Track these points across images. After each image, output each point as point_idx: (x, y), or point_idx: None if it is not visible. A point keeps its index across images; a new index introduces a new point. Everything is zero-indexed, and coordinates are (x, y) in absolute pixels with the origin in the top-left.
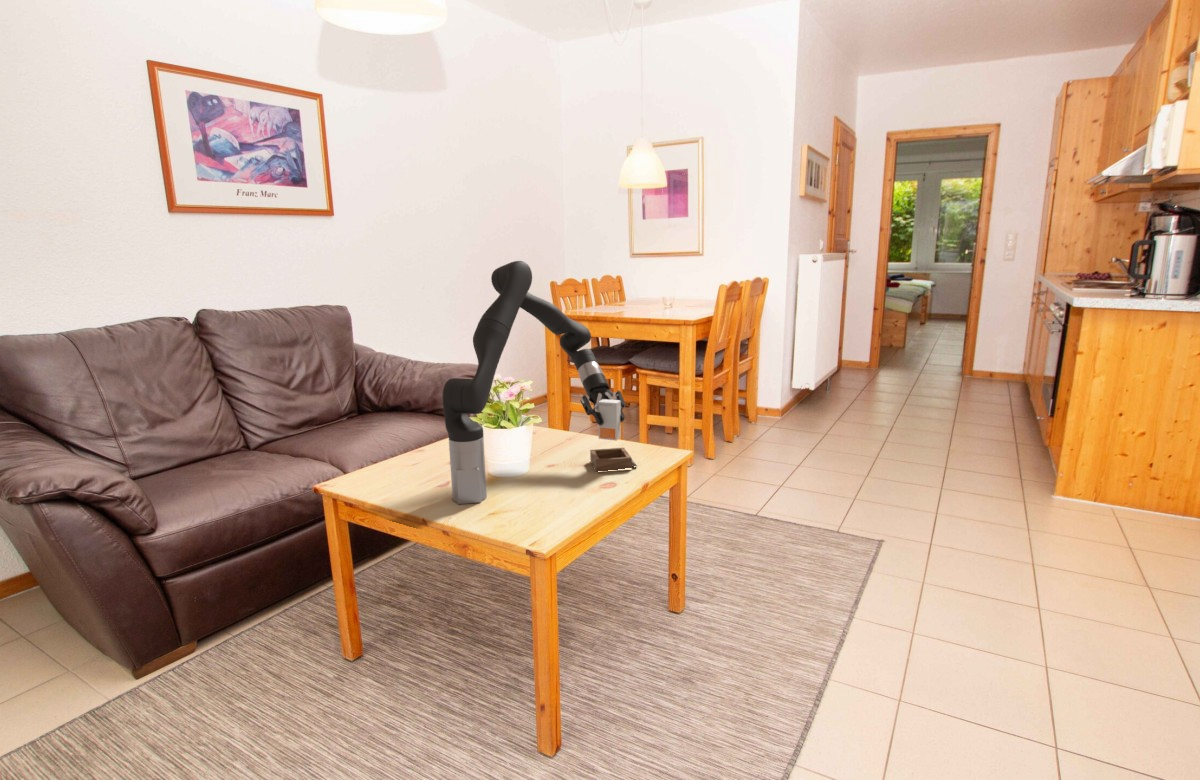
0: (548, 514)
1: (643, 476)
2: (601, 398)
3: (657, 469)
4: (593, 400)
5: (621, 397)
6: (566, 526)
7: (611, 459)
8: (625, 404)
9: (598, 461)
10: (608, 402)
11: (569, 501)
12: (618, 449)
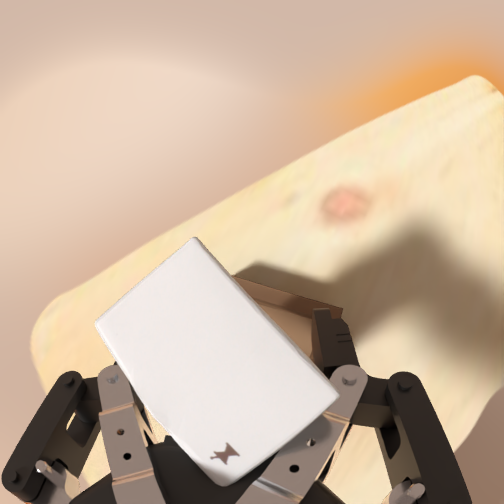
0: (485, 142)
1: (223, 218)
2: (236, 498)
3: (155, 249)
4: (339, 498)
5: (35, 432)
6: (460, 97)
7: (286, 292)
8: (59, 378)
9: (333, 307)
10: (252, 308)
11: (451, 168)
12: None
